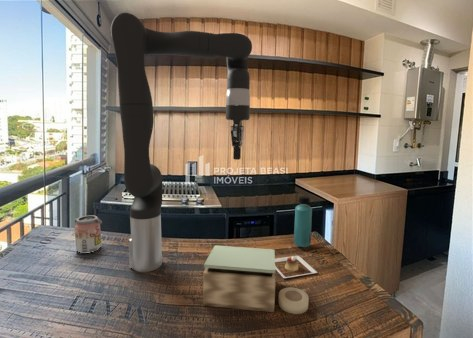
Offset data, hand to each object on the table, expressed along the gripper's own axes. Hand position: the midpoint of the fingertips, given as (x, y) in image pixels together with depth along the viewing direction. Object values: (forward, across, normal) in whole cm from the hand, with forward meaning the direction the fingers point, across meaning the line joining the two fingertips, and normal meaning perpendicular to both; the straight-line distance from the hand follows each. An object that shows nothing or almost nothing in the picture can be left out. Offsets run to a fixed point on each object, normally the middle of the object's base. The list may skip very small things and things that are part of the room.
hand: (236, 159), depth 88 cm
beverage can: (+35, 0, -54) cm, 64 cm away
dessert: (+36, +2, +19) cm, 41 cm away
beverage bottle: (+35, -14, +24) cm, 45 cm away
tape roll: (+35, +21, +18) cm, 45 cm away
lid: (+25, +18, +4) cm, 31 cm away
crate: (+35, +18, +4) cm, 40 cm away
